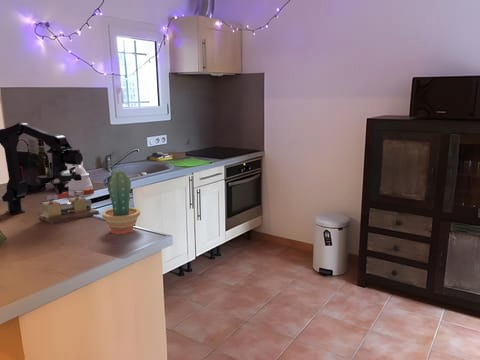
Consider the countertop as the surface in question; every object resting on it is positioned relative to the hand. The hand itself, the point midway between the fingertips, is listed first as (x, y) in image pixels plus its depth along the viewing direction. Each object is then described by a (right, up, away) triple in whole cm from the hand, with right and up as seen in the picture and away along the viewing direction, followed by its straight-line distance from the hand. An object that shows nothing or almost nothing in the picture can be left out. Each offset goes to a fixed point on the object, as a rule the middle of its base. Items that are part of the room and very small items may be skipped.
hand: (59, 196), depth 181 cm
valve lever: (+1, -1, -3) cm, 3 cm away
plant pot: (+27, -9, +4) cm, 29 cm away
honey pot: (-9, -1, +45) cm, 46 cm away
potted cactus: (+34, -13, -18) cm, 41 cm away
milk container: (-22, +3, +64) cm, 68 cm away
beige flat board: (+4, -9, +2) cm, 10 cm away
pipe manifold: (+4, -7, +2) cm, 9 cm away
